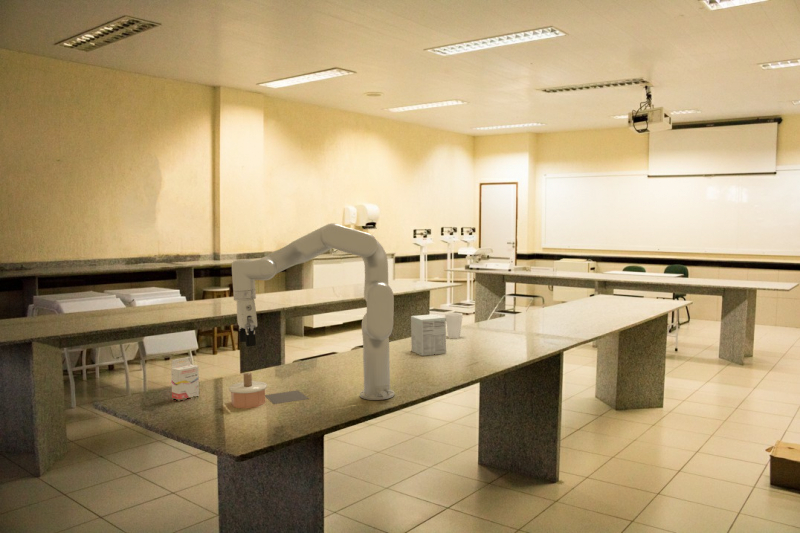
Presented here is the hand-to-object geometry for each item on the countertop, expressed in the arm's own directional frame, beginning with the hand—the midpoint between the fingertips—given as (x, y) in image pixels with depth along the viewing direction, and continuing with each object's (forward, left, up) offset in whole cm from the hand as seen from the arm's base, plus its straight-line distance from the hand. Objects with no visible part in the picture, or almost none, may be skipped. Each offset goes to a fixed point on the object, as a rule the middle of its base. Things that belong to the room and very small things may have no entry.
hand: (247, 343), depth 218 cm
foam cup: (+69, -129, -22) cm, 148 cm away
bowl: (0, 0, -22) cm, 22 cm away
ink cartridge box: (+21, +18, -22) cm, 36 cm away
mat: (+1, -14, -22) cm, 26 cm away
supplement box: (+43, -98, -22) cm, 109 cm away
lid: (0, 0, -16) cm, 16 cm away
